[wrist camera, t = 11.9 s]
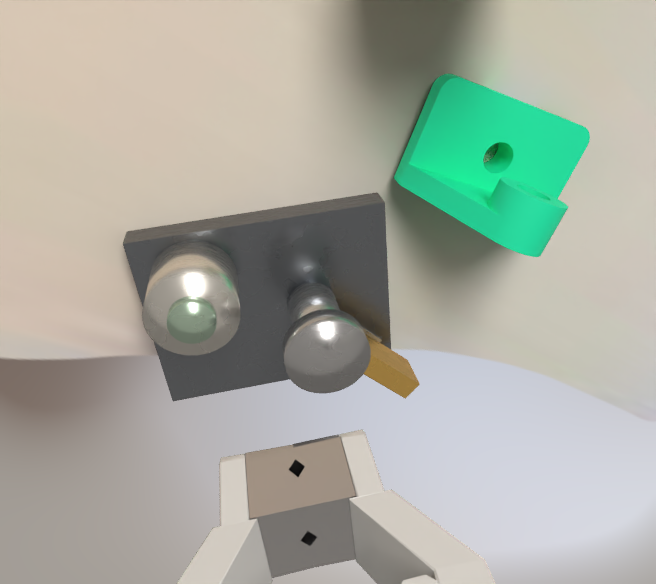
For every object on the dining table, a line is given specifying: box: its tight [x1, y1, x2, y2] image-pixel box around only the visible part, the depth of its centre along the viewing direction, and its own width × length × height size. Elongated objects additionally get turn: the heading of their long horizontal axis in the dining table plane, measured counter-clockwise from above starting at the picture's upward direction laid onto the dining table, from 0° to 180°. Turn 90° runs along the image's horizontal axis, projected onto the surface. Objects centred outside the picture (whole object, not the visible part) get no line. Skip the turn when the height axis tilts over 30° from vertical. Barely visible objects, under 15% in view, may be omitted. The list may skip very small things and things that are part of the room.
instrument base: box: [123, 193, 391, 401], centre depth 40 cm, size 18×14×8 cm
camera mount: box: [394, 74, 590, 257], centre depth 36 cm, size 12×8×10 cm, turn 70°
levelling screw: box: [282, 282, 419, 398], centre depth 40 cm, size 12×6×7 cm, turn 50°
